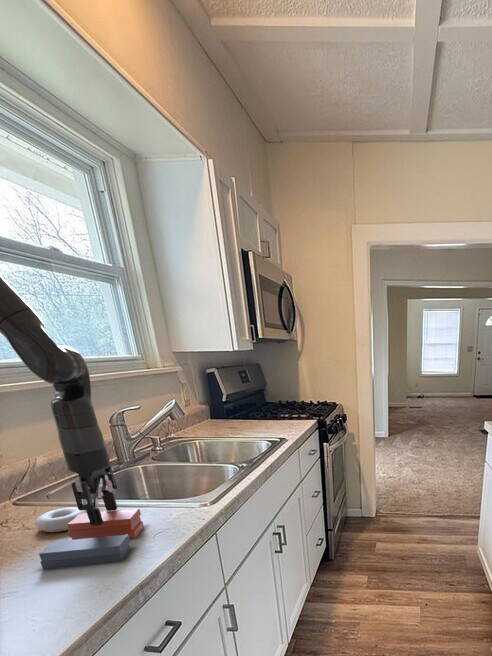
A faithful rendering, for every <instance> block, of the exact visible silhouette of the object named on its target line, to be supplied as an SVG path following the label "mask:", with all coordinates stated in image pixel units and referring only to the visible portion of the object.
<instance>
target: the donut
mask: <svg viewBox="0 0 492 656" xmlns="http://www.w3.org/2000/svg"><path fill="white" fill-rule="evenodd" d="M80 513H87V511H86V510H79V509H78V507H61V508H56V509H54V510H50V511H47V512H45V513H43V514H41V515H39V516H38V517H37V519H36V522H35V525H36V527H37V528H38V529H39V530H40V531H42V532H46V533H60V532H65V531H69V528H68V525H67V524H68V523H69V522H70V521H72V520H73V519H74V518H75V517H76V516H78V515H79V514H80Z"/></svg>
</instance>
